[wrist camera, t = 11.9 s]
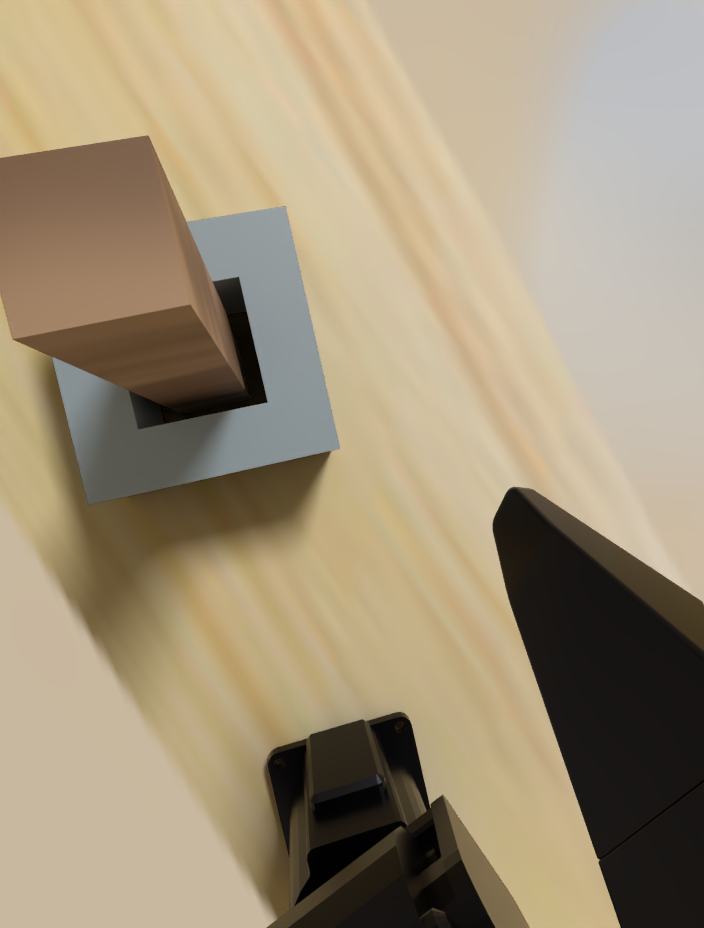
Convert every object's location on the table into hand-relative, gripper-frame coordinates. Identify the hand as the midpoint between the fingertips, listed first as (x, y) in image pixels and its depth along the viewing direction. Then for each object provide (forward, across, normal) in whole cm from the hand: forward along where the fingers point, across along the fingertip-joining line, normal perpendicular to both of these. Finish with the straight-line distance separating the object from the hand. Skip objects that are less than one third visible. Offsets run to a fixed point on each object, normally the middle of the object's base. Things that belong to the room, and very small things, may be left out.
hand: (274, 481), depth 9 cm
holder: (+13, +2, +4) cm, 14 cm away
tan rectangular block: (+13, +2, +4) cm, 14 cm away
